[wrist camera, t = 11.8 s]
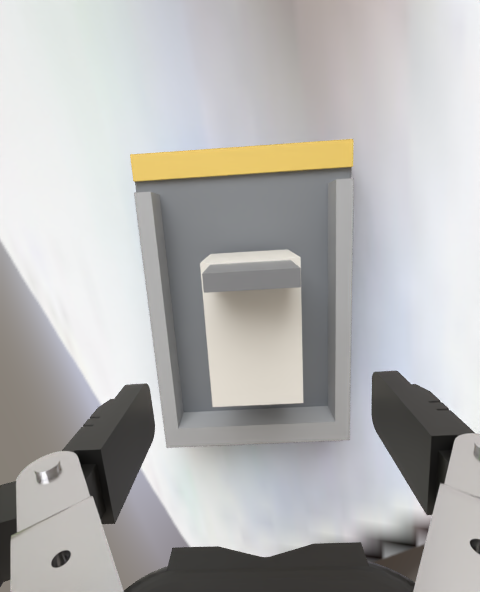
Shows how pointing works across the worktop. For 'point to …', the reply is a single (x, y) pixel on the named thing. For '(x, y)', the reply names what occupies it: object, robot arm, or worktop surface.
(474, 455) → the robot arm
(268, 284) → the tall white box
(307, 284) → the dock
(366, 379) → the worktop surface
